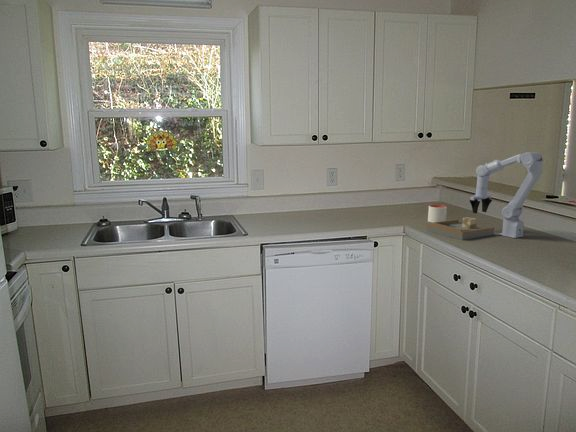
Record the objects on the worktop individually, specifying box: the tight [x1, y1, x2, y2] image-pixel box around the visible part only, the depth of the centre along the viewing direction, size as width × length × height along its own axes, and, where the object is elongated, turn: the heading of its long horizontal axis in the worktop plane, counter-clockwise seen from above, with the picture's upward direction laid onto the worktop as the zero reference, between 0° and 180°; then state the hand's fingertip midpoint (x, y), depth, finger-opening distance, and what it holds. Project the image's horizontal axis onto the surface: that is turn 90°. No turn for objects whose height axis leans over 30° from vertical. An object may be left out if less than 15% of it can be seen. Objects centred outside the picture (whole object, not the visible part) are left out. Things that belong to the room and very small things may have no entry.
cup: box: [427, 204, 448, 223], centre depth 278 cm, size 10×10×10 cm
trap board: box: [425, 218, 495, 241], centre depth 255 cm, size 24×24×5 cm
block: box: [461, 216, 478, 229], centre depth 258 cm, size 5×5×5 cm
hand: (479, 212), depth 261 cm, fingers open, 7 cm apart
